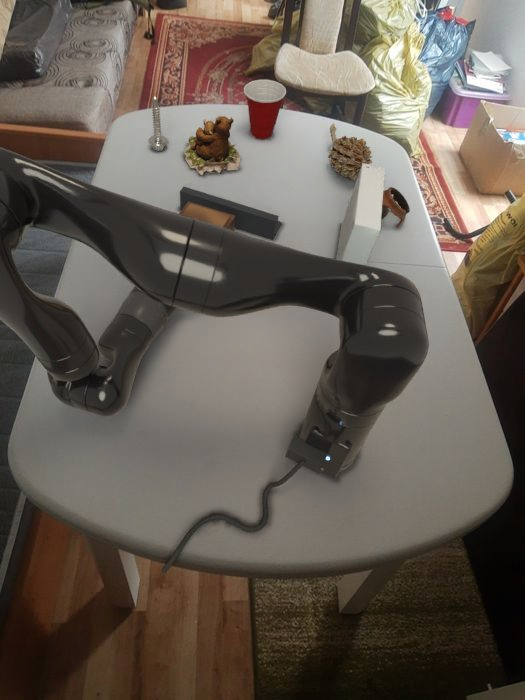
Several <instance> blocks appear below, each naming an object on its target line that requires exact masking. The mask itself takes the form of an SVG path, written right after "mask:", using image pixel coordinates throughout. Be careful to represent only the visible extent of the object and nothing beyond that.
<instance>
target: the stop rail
mask: <svg viewBox="0 0 525 700" xmlns="http://www.w3.org/2000/svg"><path fill="white" fill-rule="evenodd" d="M188 202H192V203H195V204H198V205H202V206H205V207H208V208H212V209H215V210H218V211H221V212H225V213H228V214H231V215H235V228H234V229H238V230H240V231H244V232H246V233H251V234H254V235H257V236H260V237H263V238H266V239H269V240H271V241H272V240H274V238H275V237H276V235H277V233H278V231H279V229H280V228H281V226H282V225H283V224H282V223H283V222H282V221H280V220H279V215H277V214H274V213H270V212H266V211H264V210H261V209H257V208H254V207H251V206H248V205H245V204H242V203H238V202H235V201H232V200H229V199H225V198H222V197H219V196H216V195H213V194H210V193H206V192H203V191H200V190H197V189H193V188H191V187H187V186H182V188H181V189H180V190H179V206H180V211H181V210H182V209H183V208H184V206H185V205H186V204H187V203H188Z"/></svg>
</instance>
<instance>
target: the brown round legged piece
mask: <svg viewBox="0 0 525 700" xmlns="http://www.w3.org/2000/svg"><path fill="white" fill-rule="evenodd" d="M389 212H390V213H391V214H392V215H394V216H395V217H398V218H399V219H400V221H399V222H398V223H397V225H396V228H400V227H401V226H402V224H403V223H404V222H405V219H406V216H407V215H408V214H409V213H410V212H411V210H410V205H409V203H408V201H407V199H406V198H405V196H404V195H403V194H402V193H401V192H400V191H399V190H398V189H397V188H395V187H392V186H390V187H388V189H384V190H383V202H382V216H381V221H382V220H384V218H386V217H387V216H388V214H389Z"/></svg>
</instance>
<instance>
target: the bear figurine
mask: <svg viewBox="0 0 525 700" xmlns="http://www.w3.org/2000/svg"><path fill="white" fill-rule="evenodd" d="M202 121H203V127H201V126H200V127H198V128H197V129H196V131H195V136H190V137H189V138H188V141H187V142H188V146H186V149H185V150H184V151H183V156H184V157H185V158H184V161H186V163H187V165H188V166H189V167H190V169H196V171H197V173H198V174H199V175H201V176H204V172H207V173H208V174H216V173H217V174H220V173H221V172H222V170H226V171H239V168H240V164H241V160H242V157H241V156H240V153H239V151H238V149H237V148H236V147H235V146H236V145H237V144H235V143H234V144H233V143H232V142H231V141H229V139H230V137H231V132H230V131H231V129H232V125H233V123H234V121H235V120H234V118H233V117H232V116H231V117H230V118H228V117H226V116H225V115H221V114H220V115H218V116H216V117H215V121H212V120H208V121H207V120H206V118H203V120H202ZM213 171H215V172H213Z"/></svg>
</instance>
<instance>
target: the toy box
mask: <svg viewBox="0 0 525 700" xmlns="http://www.w3.org/2000/svg"><path fill="white" fill-rule="evenodd" d="M178 214H182V215H186V216H190V217H194V220H195V218H197V219H200V220H203V221H206V222H210V223H213V224H216V225H219V226H222V227H225V228H228V229H231V230H234V231H235V229H236V228H235V215H231V214H228V213H225V212H221V211H218V210H215V209H212V208H208V207H205V206H202V205H198V204H195V203H192V202H188V203H187V204H186V205H185V206H184V208H183V209H182V210H181V209H180V211H179V213H178Z"/></svg>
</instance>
